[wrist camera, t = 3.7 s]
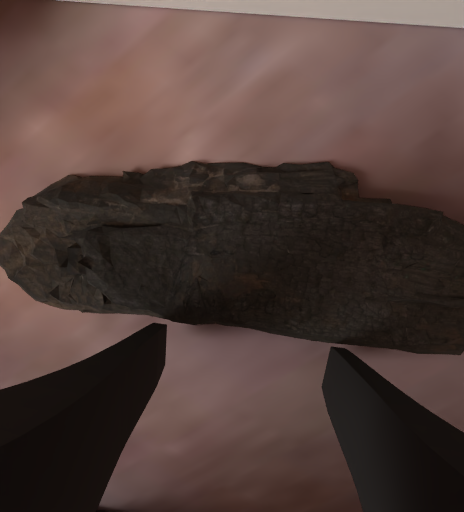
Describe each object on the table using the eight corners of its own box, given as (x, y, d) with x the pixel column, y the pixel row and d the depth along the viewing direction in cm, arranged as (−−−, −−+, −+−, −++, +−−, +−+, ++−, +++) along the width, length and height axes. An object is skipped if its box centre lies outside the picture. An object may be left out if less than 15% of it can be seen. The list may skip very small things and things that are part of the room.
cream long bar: (680, 173, 9) (1012, 153, 5) (-82, 104, 10) (-282, 46, 6) (773, -9, 8) (1316, -224, 4) (-113, -60, 9) (-383, -253, 5)
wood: (527, 185, 10) (648, 177, 7) (467, 345, 11) (542, 396, 8) (14, 131, 11) (-75, 104, 8) (27, 284, 13) (-42, 310, 10)
